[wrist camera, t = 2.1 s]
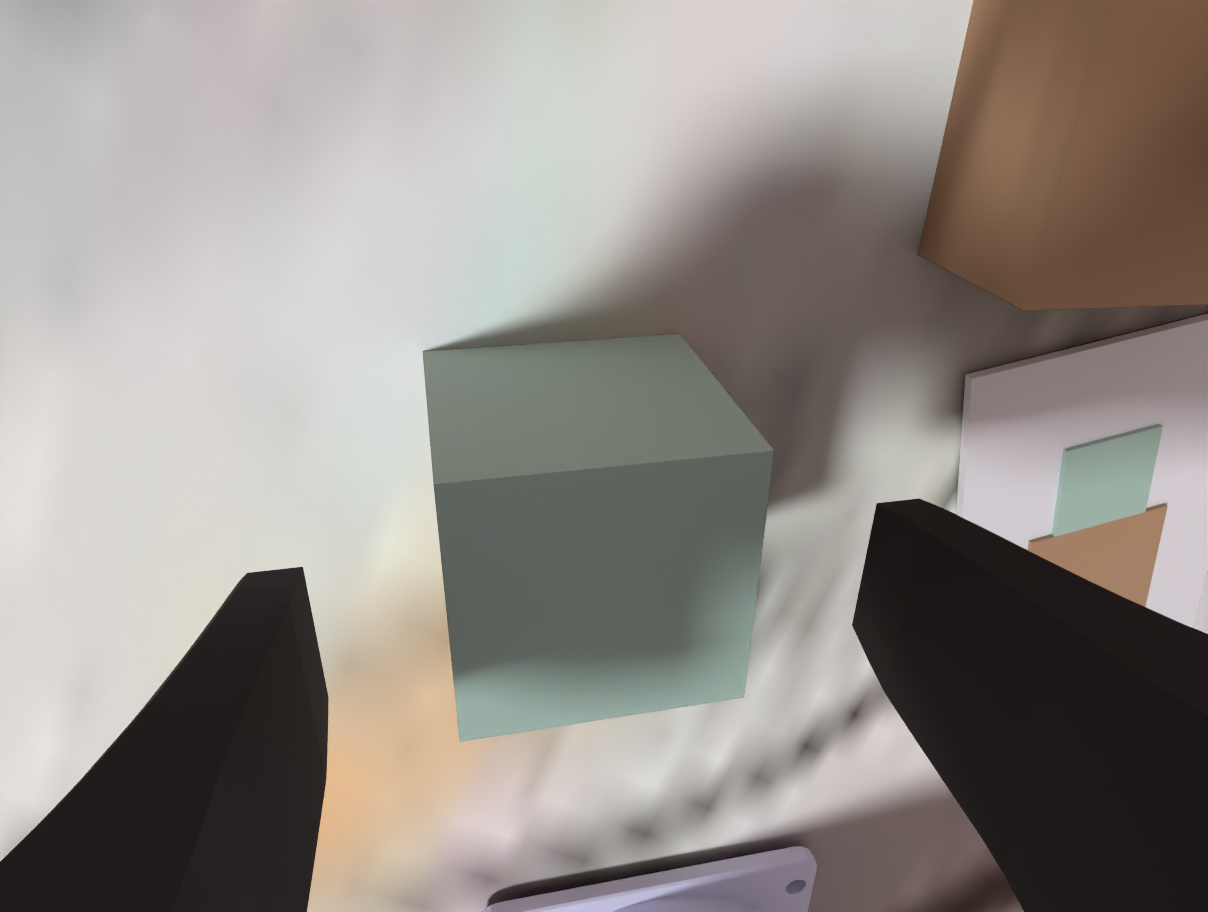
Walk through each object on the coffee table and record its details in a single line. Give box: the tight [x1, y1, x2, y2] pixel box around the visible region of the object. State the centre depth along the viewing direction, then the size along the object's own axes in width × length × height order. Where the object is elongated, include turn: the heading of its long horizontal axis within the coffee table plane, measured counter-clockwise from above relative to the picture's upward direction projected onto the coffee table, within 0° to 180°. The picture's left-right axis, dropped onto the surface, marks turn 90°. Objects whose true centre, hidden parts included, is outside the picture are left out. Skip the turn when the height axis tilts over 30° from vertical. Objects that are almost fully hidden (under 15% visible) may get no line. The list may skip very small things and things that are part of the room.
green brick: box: [423, 334, 774, 742], centre depth 12 cm, size 4×4×4 cm
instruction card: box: [956, 314, 1208, 628], centre depth 17 cm, size 9×6×1 cm, turn 10°
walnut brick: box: [918, 0, 1208, 311], centre depth 12 cm, size 6×6×3 cm
